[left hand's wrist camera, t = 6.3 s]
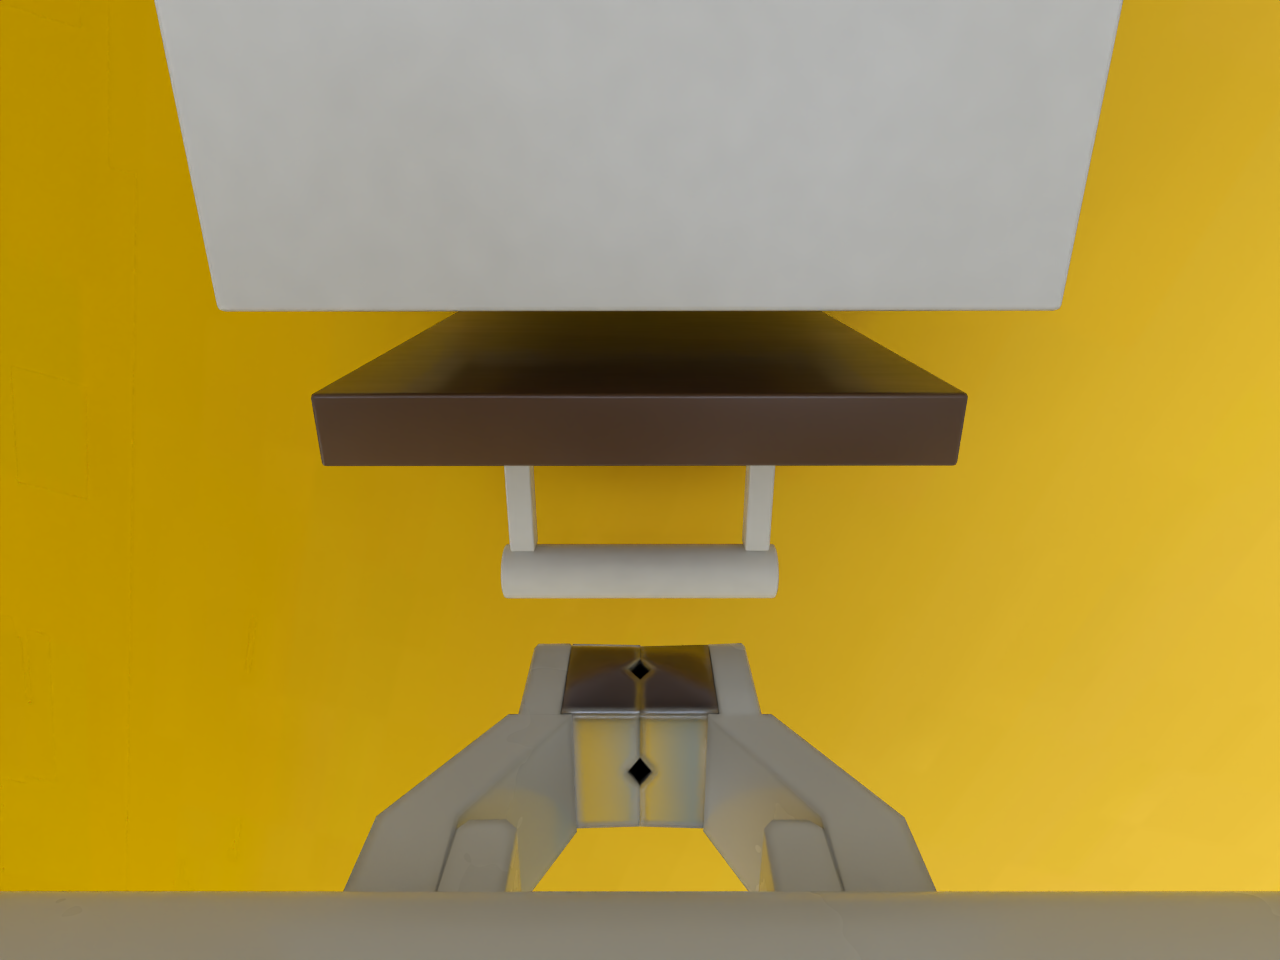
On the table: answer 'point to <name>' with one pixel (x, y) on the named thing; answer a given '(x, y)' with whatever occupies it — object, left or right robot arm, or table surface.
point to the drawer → (639, 423)
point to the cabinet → (638, 151)
